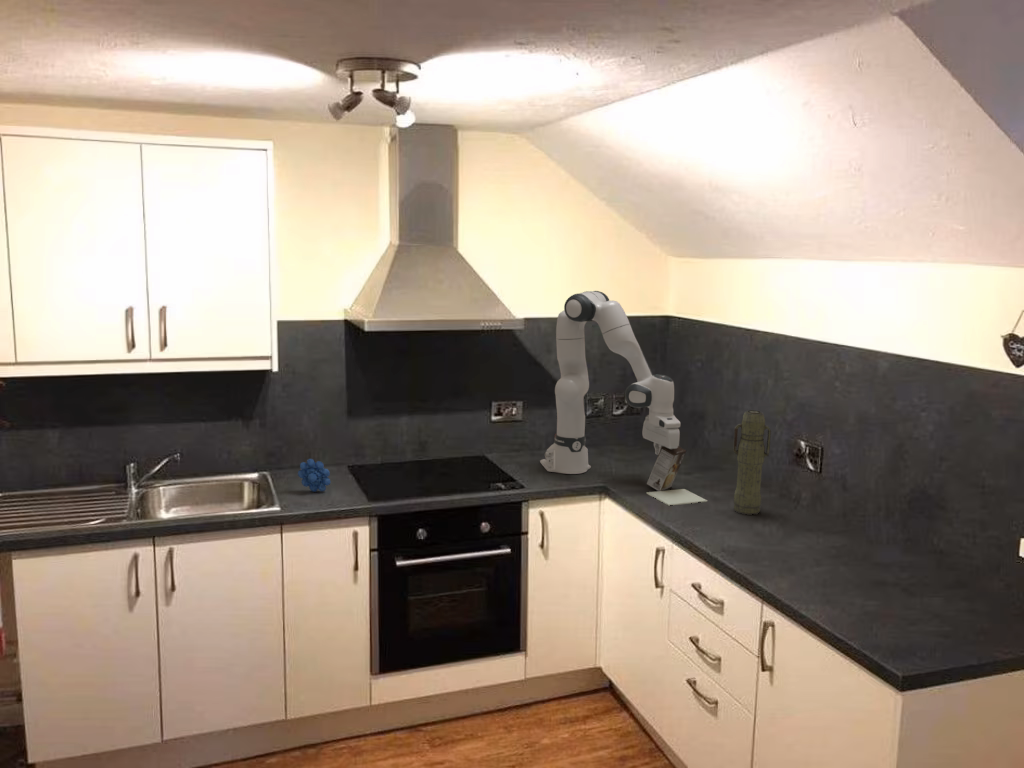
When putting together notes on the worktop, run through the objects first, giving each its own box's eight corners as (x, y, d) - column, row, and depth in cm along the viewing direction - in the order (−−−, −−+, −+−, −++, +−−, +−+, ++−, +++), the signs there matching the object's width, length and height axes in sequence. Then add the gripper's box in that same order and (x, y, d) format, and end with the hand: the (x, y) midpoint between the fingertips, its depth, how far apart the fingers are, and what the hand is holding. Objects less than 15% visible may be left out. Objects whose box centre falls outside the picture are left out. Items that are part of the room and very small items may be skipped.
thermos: (727, 506, 303) (734, 408, 297) (762, 508, 302) (769, 409, 296) (730, 513, 294) (737, 413, 289) (765, 516, 293) (774, 415, 287)
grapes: (294, 494, 302) (294, 461, 300) (299, 489, 309) (299, 456, 307) (327, 495, 302) (327, 462, 300) (332, 490, 309) (332, 457, 307)
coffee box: (657, 478, 327) (672, 442, 322) (671, 487, 324) (687, 450, 318) (645, 483, 320) (661, 446, 314) (660, 492, 317) (675, 455, 311)
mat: (646, 493, 315) (646, 492, 315) (683, 490, 321) (684, 488, 321) (668, 505, 301) (668, 504, 301) (707, 501, 307) (707, 500, 307)
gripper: (639, 413, 327) (637, 449, 330) (668, 424, 309) (666, 462, 311) (653, 413, 330) (651, 448, 332) (683, 423, 311) (681, 461, 313)
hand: (659, 455), depth 321 cm, fingers closed
